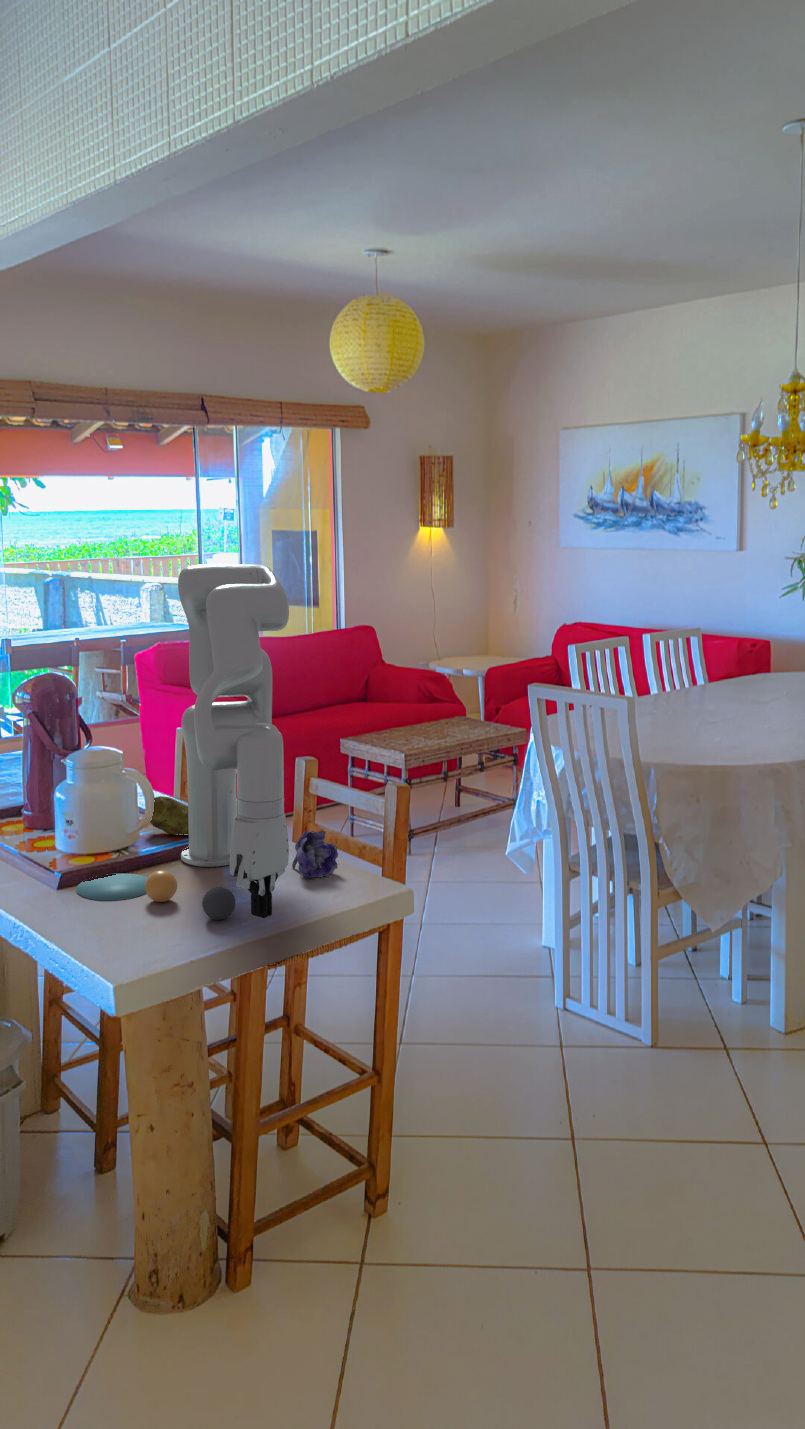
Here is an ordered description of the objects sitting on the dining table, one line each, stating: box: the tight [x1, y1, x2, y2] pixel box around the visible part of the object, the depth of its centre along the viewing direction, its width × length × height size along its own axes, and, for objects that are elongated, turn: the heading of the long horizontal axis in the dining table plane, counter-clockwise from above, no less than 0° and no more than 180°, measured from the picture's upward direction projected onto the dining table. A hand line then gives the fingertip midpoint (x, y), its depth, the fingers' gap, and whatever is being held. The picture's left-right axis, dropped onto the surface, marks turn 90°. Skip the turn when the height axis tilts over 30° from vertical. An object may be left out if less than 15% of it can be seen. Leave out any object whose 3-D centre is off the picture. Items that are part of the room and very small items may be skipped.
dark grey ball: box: [201, 886, 236, 921], centre depth 183 cm, size 6×6×6 cm
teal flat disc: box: [75, 873, 149, 902], centre depth 197 cm, size 14×14×1 cm
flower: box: [291, 830, 339, 880], centre depth 206 cm, size 9×9×10 cm
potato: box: [149, 795, 188, 835], centre depth 230 cm, size 8×13×8 cm, turn 72°
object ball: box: [145, 869, 178, 903], centre depth 190 cm, size 6×6×6 cm
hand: (261, 914), depth 177 cm, fingers closed
